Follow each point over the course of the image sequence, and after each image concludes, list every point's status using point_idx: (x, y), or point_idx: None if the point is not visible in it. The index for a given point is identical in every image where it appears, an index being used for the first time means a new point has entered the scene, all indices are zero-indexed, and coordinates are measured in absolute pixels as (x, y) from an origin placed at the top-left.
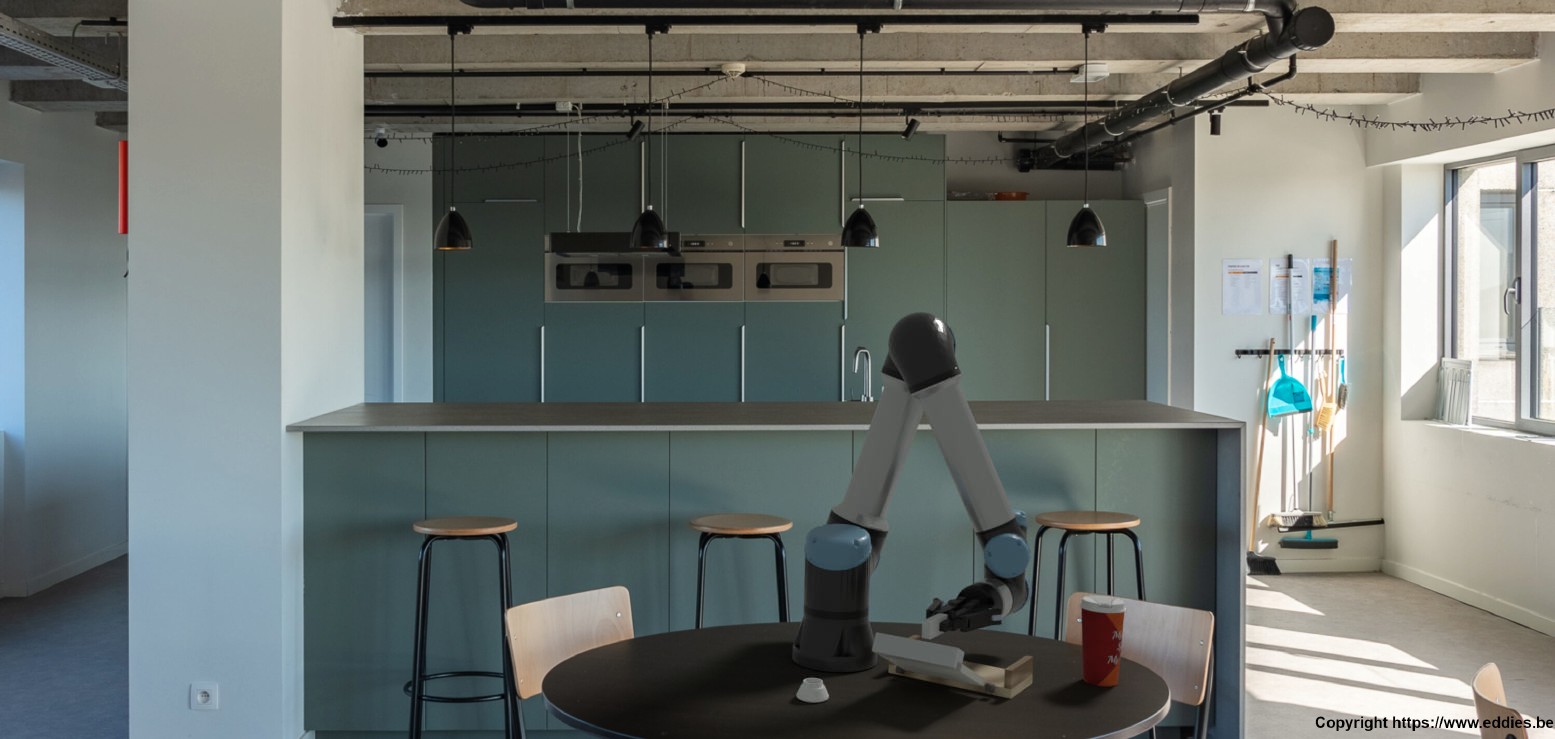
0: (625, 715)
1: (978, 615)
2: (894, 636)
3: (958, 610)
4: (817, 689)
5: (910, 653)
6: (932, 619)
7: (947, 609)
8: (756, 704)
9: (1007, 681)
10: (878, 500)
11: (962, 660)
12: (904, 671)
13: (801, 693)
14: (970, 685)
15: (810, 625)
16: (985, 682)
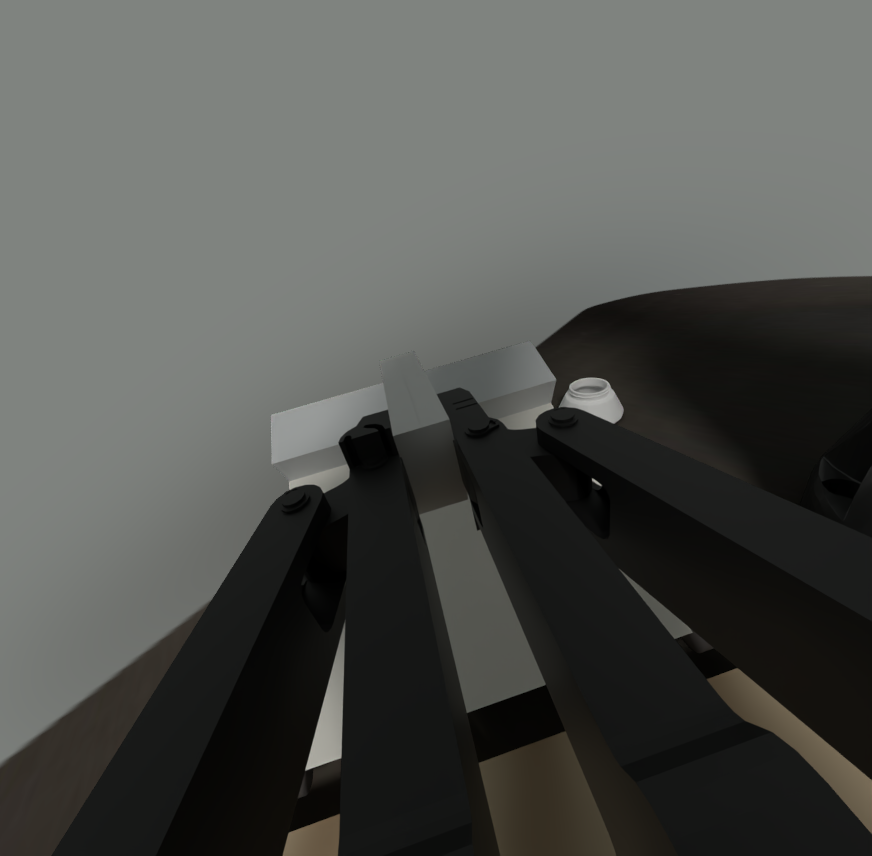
0: (611, 311)
1: (186, 656)
2: (471, 359)
3: (425, 589)
4: (565, 394)
5: None
6: (398, 372)
7: (519, 522)
8: (594, 369)
9: None
10: None
11: (284, 474)
12: (694, 645)
13: (584, 391)
14: None
15: None
16: (332, 852)
